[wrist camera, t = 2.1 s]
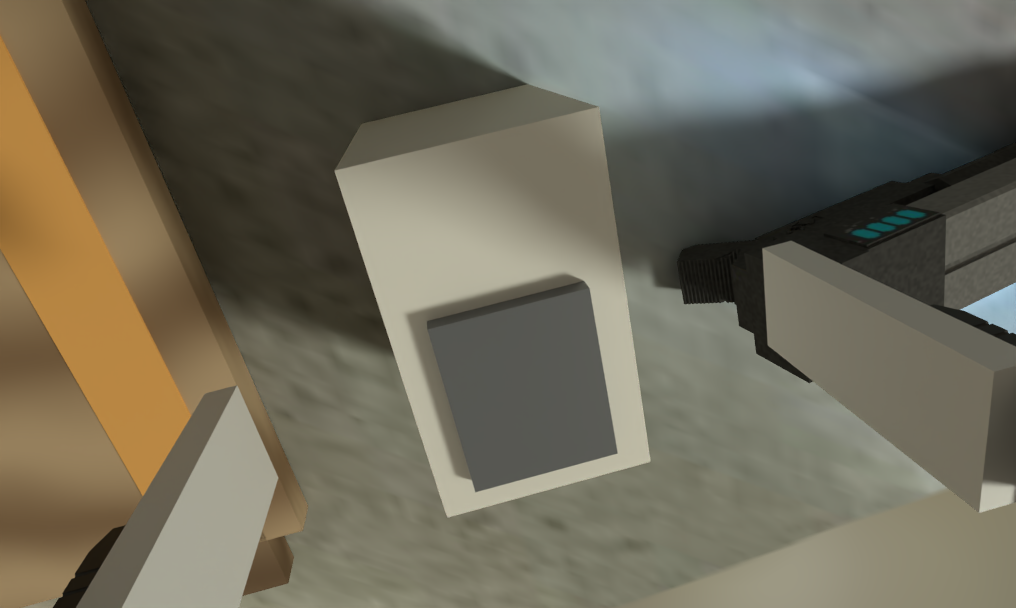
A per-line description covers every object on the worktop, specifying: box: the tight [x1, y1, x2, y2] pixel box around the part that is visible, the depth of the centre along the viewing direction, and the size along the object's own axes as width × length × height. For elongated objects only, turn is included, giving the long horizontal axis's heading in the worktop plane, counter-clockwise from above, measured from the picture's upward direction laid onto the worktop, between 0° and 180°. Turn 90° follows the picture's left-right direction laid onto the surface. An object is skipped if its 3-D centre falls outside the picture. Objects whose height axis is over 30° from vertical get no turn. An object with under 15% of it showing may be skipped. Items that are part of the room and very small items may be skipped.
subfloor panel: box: [0, 0, 308, 608], centre depth 22 cm, size 27×14×2 cm, turn 12°
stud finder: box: [334, 84, 650, 517], centre depth 20 cm, size 10×6×10 cm, turn 12°
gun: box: [677, 142, 1016, 383], centre depth 25 cm, size 4×20×10 cm, turn 105°
